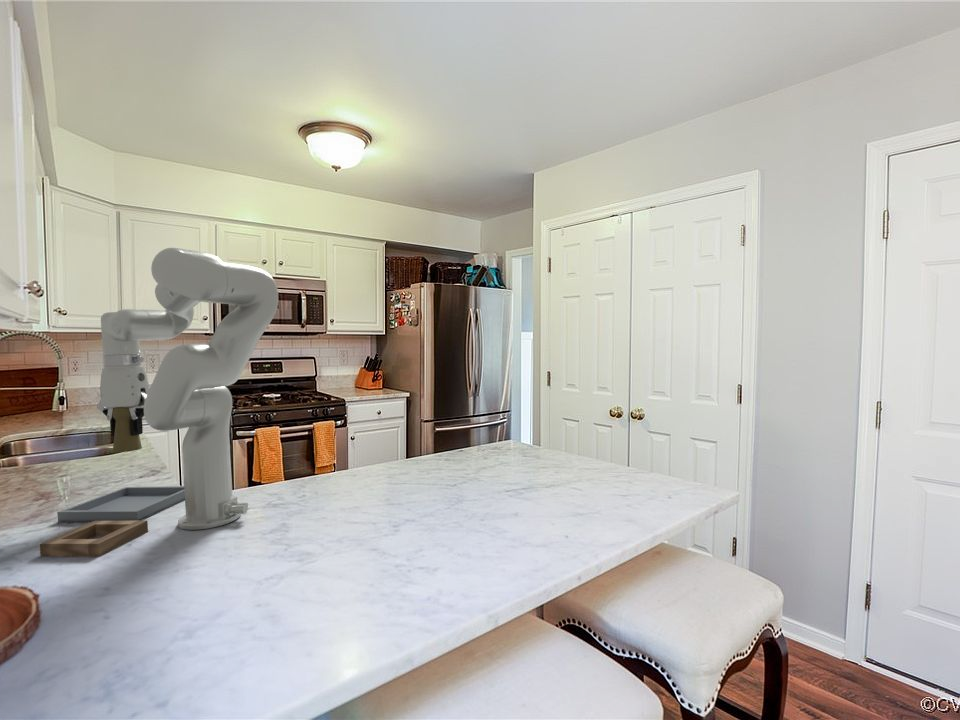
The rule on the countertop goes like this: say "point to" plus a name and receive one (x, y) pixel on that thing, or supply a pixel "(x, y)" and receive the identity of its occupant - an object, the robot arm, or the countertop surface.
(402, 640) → the countertop surface
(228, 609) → the countertop surface
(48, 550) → the socket block
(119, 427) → the cork
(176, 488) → the tray
